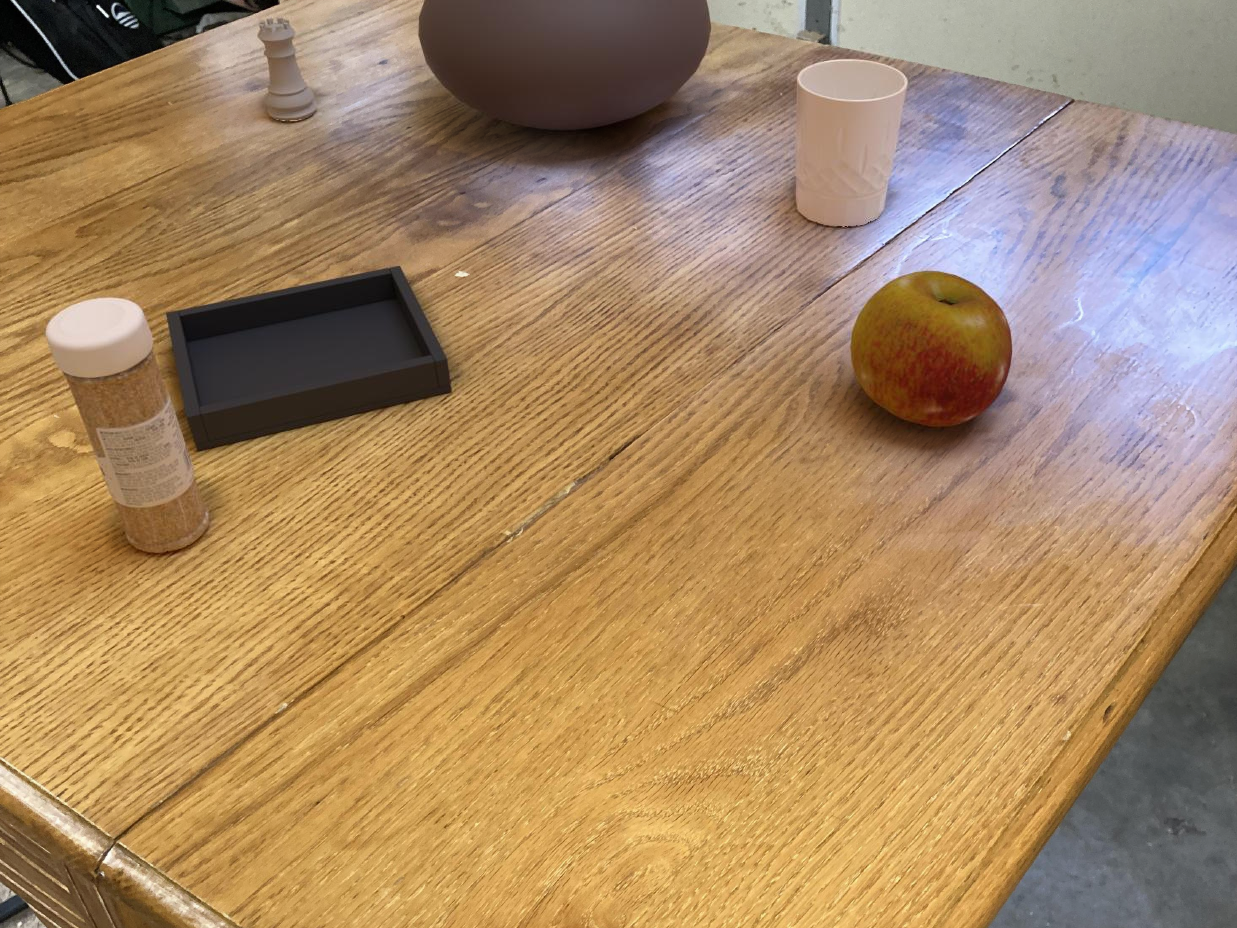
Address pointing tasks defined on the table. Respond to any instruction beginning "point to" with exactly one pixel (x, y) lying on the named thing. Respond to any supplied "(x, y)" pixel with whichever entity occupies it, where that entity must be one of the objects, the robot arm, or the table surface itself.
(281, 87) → the rook chess piece
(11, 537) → the table surface
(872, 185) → the pale pink cup
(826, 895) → the table surface
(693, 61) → the flattened ellipsoid
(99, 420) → the sprinkles bottle
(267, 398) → the tray
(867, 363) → the fruit
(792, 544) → the table surface
